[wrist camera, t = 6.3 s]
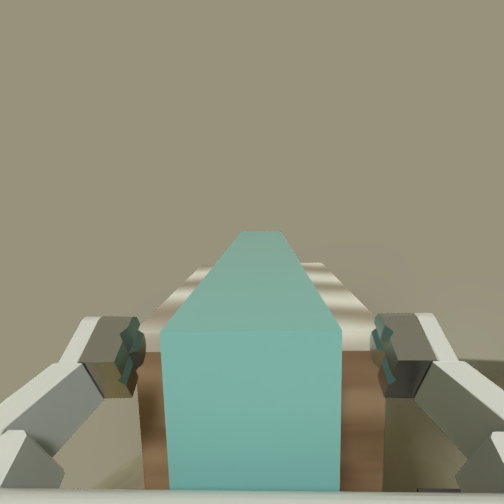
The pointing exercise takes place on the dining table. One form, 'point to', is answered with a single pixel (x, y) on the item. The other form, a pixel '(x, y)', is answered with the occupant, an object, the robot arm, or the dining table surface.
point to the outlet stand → (352, 386)
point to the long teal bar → (253, 376)
